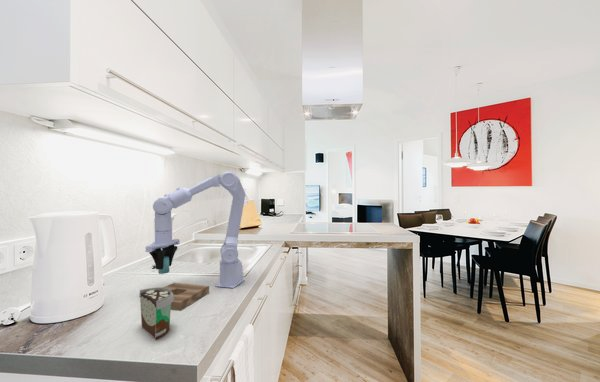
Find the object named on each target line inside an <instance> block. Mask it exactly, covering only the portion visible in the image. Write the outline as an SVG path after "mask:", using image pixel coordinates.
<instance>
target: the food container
mask: <svg viewBox="0 0 600 382" xmlns="http://www.w3.org/2000/svg"><path fill="white" fill-rule="evenodd" d="M138 297H139V298H140V299H139V300H140V301H139V302H140V318H141V319H140V320H141V329H142V330H143V331H145V332H146V333H147V334H148V335H149V336H150V337H151V338H152V339H153V340H155V341H157V340H160V339H161V338H163V337H165V336H166V335H167V334H168V333H169V331H170V325H171V323H170V322H171V310H172V309H171V303H172V302H173V300H174V297H173V293H172V292H171V290H170V289H167V288H164V287H150V288H149V287H148V288H144V289H139V296H138Z"/></svg>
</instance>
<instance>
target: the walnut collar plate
mask: <svg viewBox="0 0 600 382" xmlns="http://www.w3.org/2000/svg"><path fill="white" fill-rule="evenodd" d="M163 288H167V289H170V290H171V292H172V293H173V297H174V300H173V302H172V303H171V310H173V311H180V310H181V311H183V310H184V309H186V308H187V307H189V306H190V305H192V304H193V303H195V302H197V301H199V300H201V299H202V298H203V297H205V296H206V295H209V294H210V285H203V284H191V283H179V282H173V283H171V284H168V285H166V286H164V287H163ZM182 309H183V310H182Z"/></svg>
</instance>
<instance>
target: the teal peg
mask: <svg viewBox="0 0 600 382" xmlns="http://www.w3.org/2000/svg"><path fill="white" fill-rule="evenodd" d="M157 271H158V274H159V275H165V274H168V273H170V266H169V257H168V256H164V261H163V269H161V270H160V269H157Z"/></svg>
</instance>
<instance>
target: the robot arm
mask: <svg viewBox="0 0 600 382" xmlns="http://www.w3.org/2000/svg"><path fill="white" fill-rule="evenodd" d="M220 186H221V187H222V188H224V189H225V190H226V191H228V192H229V194H230V196H231V197H232V200H231V206H230V211H229V217H228V222H227V226H226V227H227V229H226V234H225V237H224V242H223V244H222V246H221V247H220V257H221V259H220V260H219V282H218V283H216V284H215V286H214V287H219V288H228V289H229V288H231V289H234V288H236V287H237V286H239V285H240V284H242V283H243V282H245V281H246V280H245V278H244V277H243V276H244V275H243V274H244V273H243V262H242V261H241V260H240V259H239V258H238V257H239V251H238V243H239V242H238V241H239V240H238V238H239V233H240V227H241V221H242V216H243V212H244V211H243V210H244V205H245V201H246V200H245V198H246V191H245V190H244V187H243V185H242V183H241V180H240V178H239V176H237V175H236V173H234V172H233V171H229V170H228V171H224V172H223V173H219V174H216V175H213V176H211V177H208V178H207V179H204V180H202V181H201V182H199V183H197V184H195V185H193V186H191V187H189V188H187V187H184V186H183V187H177V188H176V190H174V191H173V192H171V193H169V194H164V195H163V197H158V198H157V199H156V200H154V202H153V203H152V209H153V211H154V220H153V221H154V242H153V243H152V244H149V245H146V246H145V253H149V254H150V256H151V257H152V259H153V261H154V263H155V268H156V269H157V270H158V269H160V270H161V269H163V261H164V256H168V257H169V267H171V266H172V264H173V259H174V256H175V254H176V252H177V250H178V245H180V242H181V240H180V238H173V220H172V219H173V218H172V210H173V209H177V208H179V207H181V206H183V205H185V204H187V203H189V202H191V201H192V199H193V197H194V196H195V195H197V194H199V193H201V192H204V191H206V190H208V189H210V188H215V187H216V188H219V187H220Z"/></svg>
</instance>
